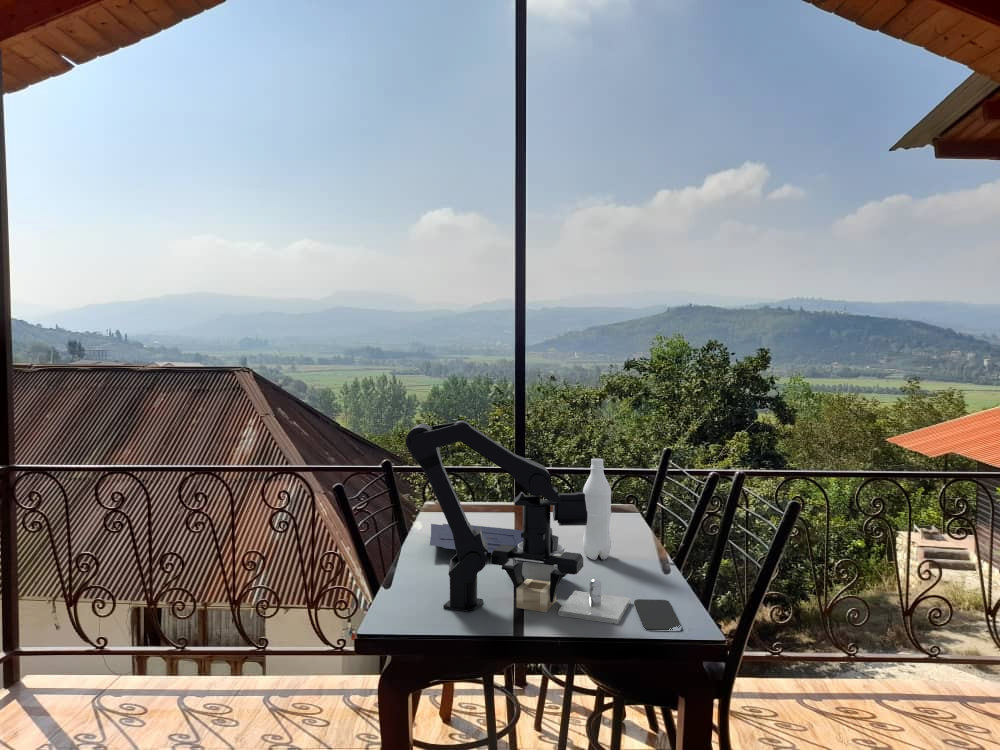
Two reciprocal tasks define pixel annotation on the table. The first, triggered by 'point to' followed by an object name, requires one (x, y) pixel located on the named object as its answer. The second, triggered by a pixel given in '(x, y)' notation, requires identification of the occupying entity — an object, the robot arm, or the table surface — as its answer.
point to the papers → (492, 535)
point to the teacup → (539, 566)
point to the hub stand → (595, 605)
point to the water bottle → (597, 513)
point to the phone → (656, 614)
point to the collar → (534, 595)
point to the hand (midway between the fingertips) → (536, 599)
